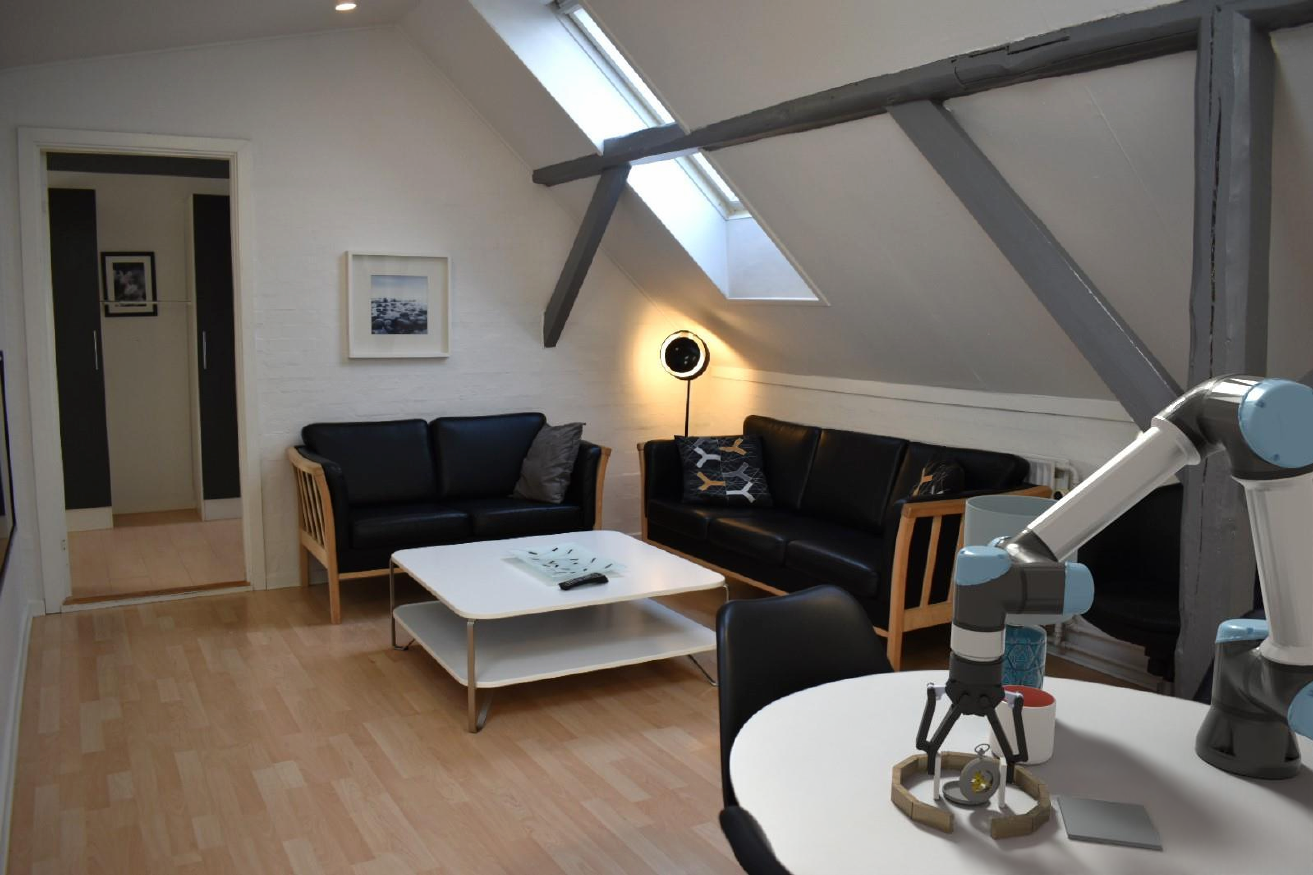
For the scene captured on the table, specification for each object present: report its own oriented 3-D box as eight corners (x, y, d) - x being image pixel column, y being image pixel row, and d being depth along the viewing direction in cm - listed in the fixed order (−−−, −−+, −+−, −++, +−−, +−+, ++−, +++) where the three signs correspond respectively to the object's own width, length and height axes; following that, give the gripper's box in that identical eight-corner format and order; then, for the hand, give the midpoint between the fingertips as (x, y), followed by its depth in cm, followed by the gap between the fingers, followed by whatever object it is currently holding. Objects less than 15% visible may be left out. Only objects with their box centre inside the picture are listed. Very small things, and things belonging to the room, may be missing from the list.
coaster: (1143, 808, 157) (1143, 804, 157) (1161, 849, 145) (1161, 845, 145) (1057, 798, 159) (1057, 794, 159) (1068, 837, 148) (1068, 833, 148)
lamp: (969, 728, 185) (981, 515, 180) (944, 687, 204) (954, 493, 199) (1082, 731, 184) (1097, 517, 179) (1046, 690, 203) (1058, 496, 198)
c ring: (1039, 776, 167) (1040, 761, 166) (1057, 847, 145) (1058, 830, 145) (893, 759, 172) (893, 744, 172) (889, 826, 150) (890, 809, 150)
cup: (1056, 770, 169) (1061, 710, 168) (991, 764, 171) (995, 704, 170) (1047, 744, 179) (1051, 687, 177) (985, 738, 181) (988, 682, 179)
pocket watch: (953, 782, 164) (956, 720, 163) (1006, 799, 159) (1010, 735, 158) (929, 801, 158) (933, 737, 157) (984, 819, 153) (988, 753, 151)
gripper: (1051, 651, 157) (1040, 796, 160) (902, 637, 162) (895, 779, 165) (1057, 668, 149) (1046, 820, 152) (901, 653, 154) (894, 801, 157)
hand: (968, 798), depth 158 cm, fingers open, 9 cm apart
